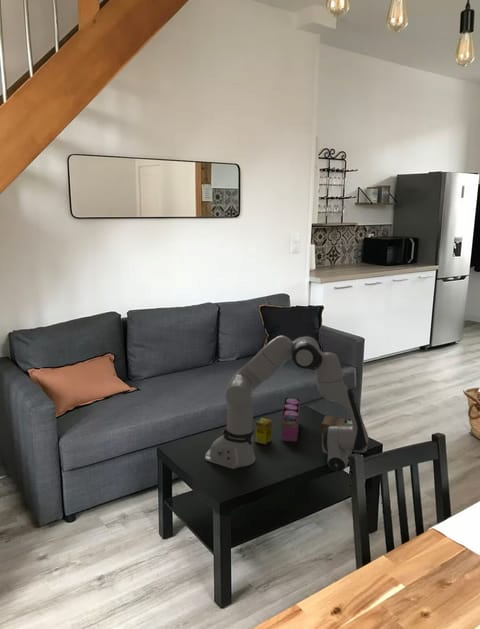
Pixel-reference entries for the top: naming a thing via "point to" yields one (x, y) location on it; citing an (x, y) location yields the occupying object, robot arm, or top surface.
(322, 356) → the robot arm
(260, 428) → the supplement box
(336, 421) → the walnut block
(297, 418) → the gum box
